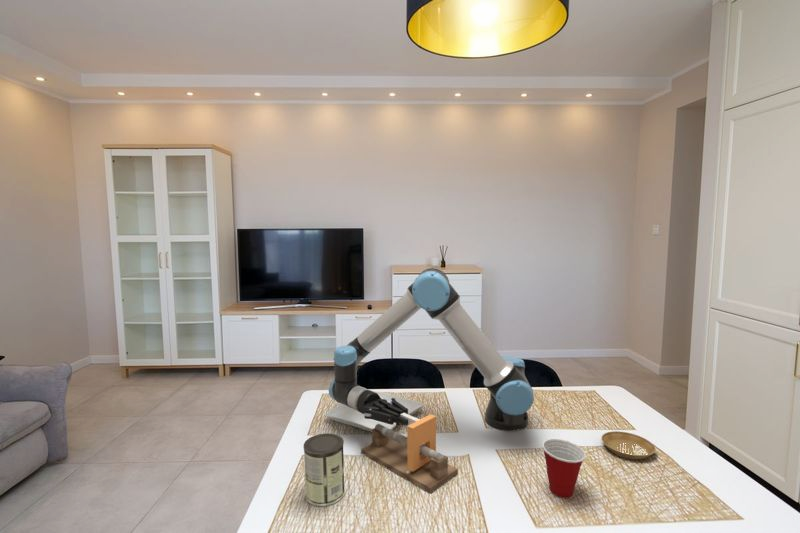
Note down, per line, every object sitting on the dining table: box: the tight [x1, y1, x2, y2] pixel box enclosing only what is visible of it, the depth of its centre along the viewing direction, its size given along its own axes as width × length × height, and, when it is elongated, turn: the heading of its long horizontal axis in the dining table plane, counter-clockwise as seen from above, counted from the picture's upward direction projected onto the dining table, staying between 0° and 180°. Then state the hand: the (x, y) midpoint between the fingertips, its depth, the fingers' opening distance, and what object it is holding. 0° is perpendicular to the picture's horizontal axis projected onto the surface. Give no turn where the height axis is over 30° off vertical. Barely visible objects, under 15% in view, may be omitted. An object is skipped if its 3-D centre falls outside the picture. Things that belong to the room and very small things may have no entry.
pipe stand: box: [360, 424, 459, 494], centre depth 123 cm, size 28×12×8 cm, turn 46°
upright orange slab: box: [406, 413, 437, 472], centre depth 118 cm, size 2×10×12 cm, turn 136°
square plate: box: [324, 389, 425, 433], centre depth 154 cm, size 27×27×4 cm
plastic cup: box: [541, 438, 587, 499], centre depth 109 cm, size 11×11×12 cm
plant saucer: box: [601, 430, 656, 461], centre depth 130 cm, size 15×15×3 cm
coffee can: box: [303, 432, 346, 507], centre depth 109 cm, size 10×10×14 cm
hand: (418, 425), depth 119 cm, fingers closed
